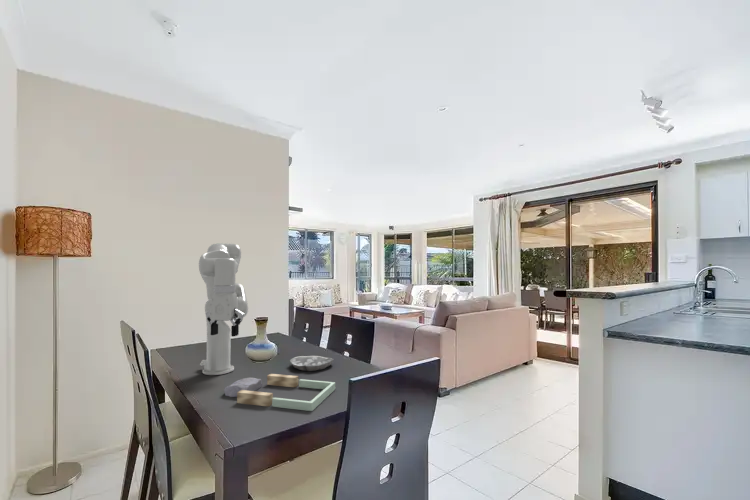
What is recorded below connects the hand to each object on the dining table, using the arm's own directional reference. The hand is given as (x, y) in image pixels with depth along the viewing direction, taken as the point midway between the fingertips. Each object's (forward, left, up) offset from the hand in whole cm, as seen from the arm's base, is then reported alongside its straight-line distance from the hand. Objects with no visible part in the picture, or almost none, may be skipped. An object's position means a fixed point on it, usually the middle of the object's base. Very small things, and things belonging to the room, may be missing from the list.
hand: (224, 335), depth 137 cm
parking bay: (+35, -2, -19) cm, 40 cm away
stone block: (+10, -2, -20) cm, 22 cm away
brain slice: (+21, +32, -20) cm, 43 cm away
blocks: (+21, -2, -19) cm, 29 cm away
